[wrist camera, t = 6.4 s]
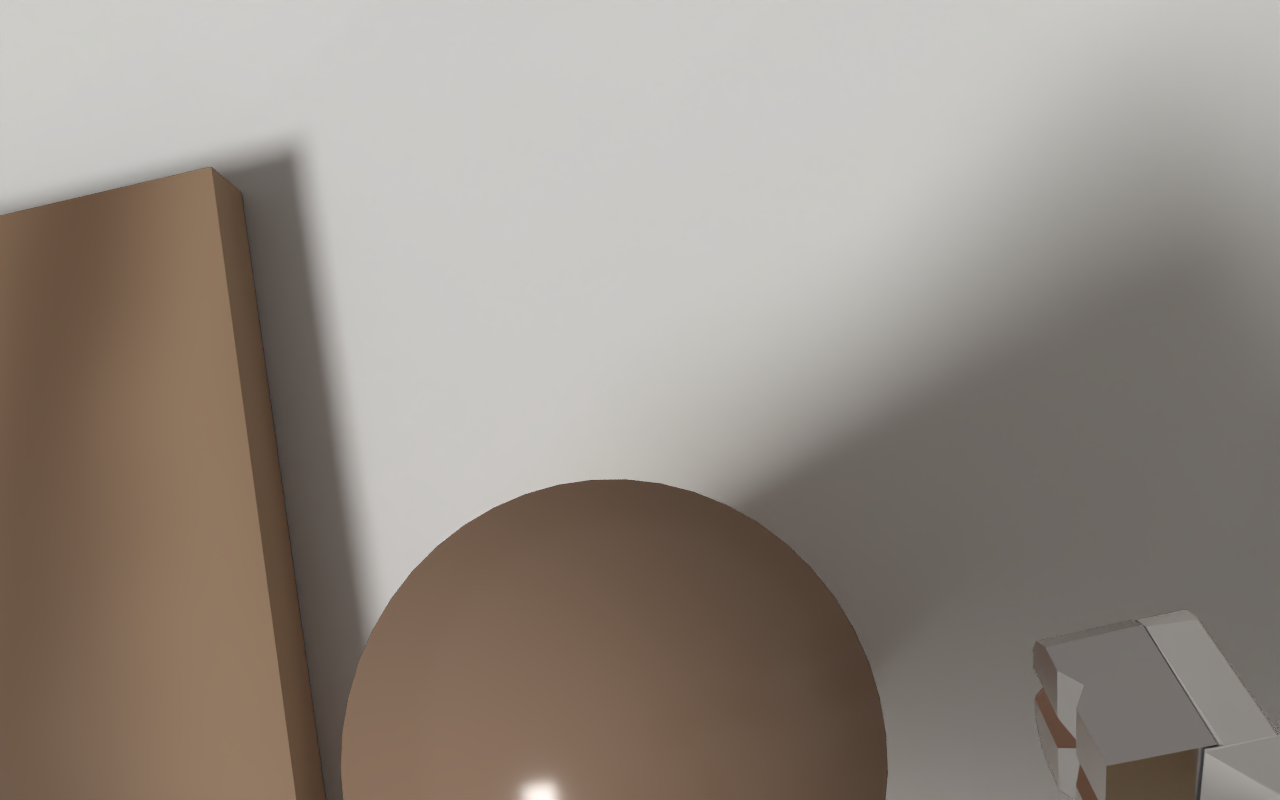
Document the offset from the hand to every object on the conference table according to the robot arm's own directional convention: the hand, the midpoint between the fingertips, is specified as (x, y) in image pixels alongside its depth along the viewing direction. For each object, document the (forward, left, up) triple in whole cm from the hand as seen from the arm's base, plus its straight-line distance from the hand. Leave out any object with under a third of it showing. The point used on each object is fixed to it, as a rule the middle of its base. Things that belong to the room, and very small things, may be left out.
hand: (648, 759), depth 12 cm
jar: (0, 0, -7) cm, 7 cm away
